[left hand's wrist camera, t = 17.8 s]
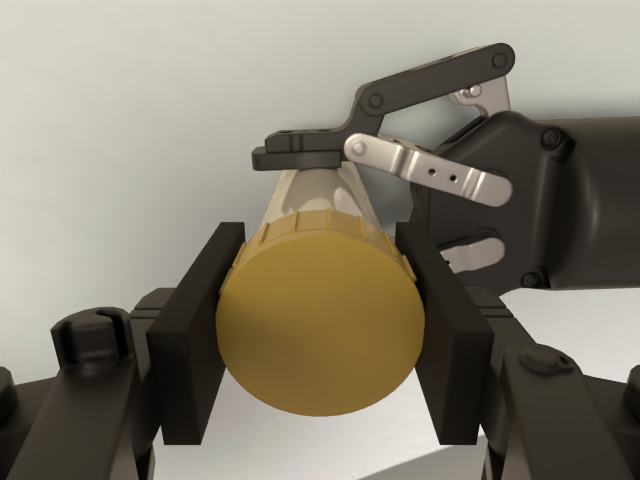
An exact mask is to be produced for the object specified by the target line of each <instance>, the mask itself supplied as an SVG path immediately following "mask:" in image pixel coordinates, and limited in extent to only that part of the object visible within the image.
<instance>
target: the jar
mask: <svg viewBox="0 0 640 480" xmlns="http://www.w3.org/2000/svg"><path fill="white" fill-rule="evenodd" d="M327 208H331V211H339V212H343V213H347V214H351V215H353V216H356V217H358V216H359V215H361V216H363V220H365V221H367V222H369V223H370V224H372V225H374V226H375V227H377V228H378V229H379V230H381V231H382V229H381V227H380V224H379V222H378V219H377V217H376V214H375V212H374V209H373V207H372V204H371V202H370V200H369V197H368V195H367V192H366V190H365V187H364V185H363V182H362V180H361V178H360V175H359V173H358V170H357V168H356V166H355V164H354V162H351V161H347V162H342V168H325V169H322V168H320V169H298V170H283V171H282V173H281V175H280V178H279V180H278V183H277V185H276V188H275V190H274V193H273V195H272V198H271V200H270V203H269V205H268V207H267V210H266V212H265V215H264V217H263V220H262V222H261V225H260V227H259V230H258V232H259V231H260V230H261V229H263V226H264V224H265V223H266V222H268V223H269V224H270V223H272V222H274V221H275V220H277V219H279V218H282V217H284V216H287V215H290V214H293V213H294V210H298V212H301V211H309V210H327ZM382 232H383V231H382Z"/></svg>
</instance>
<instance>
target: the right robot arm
mask: <svg viewBox="0 0 640 480" xmlns="http://www.w3.org/2000/svg"><path fill="white" fill-rule="evenodd" d="M514 63H515V53H514V51H513V49H512V48H511V47H510V46H509V45H508V44H505V43H497V44H492V45H487V46H482V47H477V48H473V49H470V50H467V51H464V52H461V53H458V54H455V55H452V56H449V57H446V58H443V59H440V60H437V61H434V62H431V63H428V64H425V65H422V66H419V67H416V68H412V69H409V70H406V71H403V72H400V73H397V74H394V75H391V76H388V77H385V78H382V79H379V80H376V81H373V82H370V83H367V84H364V85H362V86H361V87H360V88H359V89H358V90H357V92H356V95H355V101H354V104H353V107H352V110H351V113H350V116H349V118H348V120H347V121H346V123H345V124H343V125H342V126H340V127H338V128H334V129H309V130H283V131H278V132H276V133H273V134H271V135H269V136H268V137H267V138H266V139H265V146H262V147H257V148H255V149H254V150H253V151H252V153H251V154H252V164H253V170H256V171H271V170H298V169H320V168H322V169H325V168H342V162H347V161H351V162H354V163H357V164H360V165H364V166H367V167H370V168H374V169H377V170H380V171H384V172H387V173H391V174H393V175H395V176H397V177H399V178H402V179H404V180H408V181H410V190H411V194H412V199H413V203H414V207H413V210H412V213H411V216H410V219H409V222H419V223H420V224H421V226H422V227H423V228H424V230H425V231H426V233H427V234H428V236H429V237H430V239H431V240H432V242H433V243H434V245H435V246H436V247H437V249H438V250H439V252H440V253H441V255H442V256H443V258H444V259H445V261H446V262H447V264H448V265H449V266H450V268H451V269H452V271H453V272H454V274H455V275H456V277H457V278H458V280H459V281H460V282H461V284H462V285H463V287H484V288H486V289H487V290H489V291H491V292H492V293H494V294H496V295H497V296H498V297H499V296H501V295H503V294H505V293H507V292H509V291H512V290H515V289H519V288H532V289H541V290H554V291H555V290H586V289H616V288H640V116H637V117H612V118H586V119H560V120H531V119H529V118H527V117H525V116H523V115H522V114H520V113H518V112H514V111H511V108H510V102H509V95H508V88H507V82H506V74H508V73H509V72H510V71H511V69H512V68H513V66H514ZM447 94H448V95H449V97H450V99H451V101H452V102H454V103H455V104H459V105H464V106H472V105H474V106H476V107H477V108H478V109H479V111H480V114H481V115H480V116H479V117H477V118H476V119H474V120H473V121H472V122H470V123H469V124H468V125H466V126H465V127H464V128H462V129H461V130H460V131H458V132H457V133H455V134H454V135H453V136H451V137H450V138H449V139H447V140H446V141H445V142H443V143H442V144H440V145H439V146H438V147H436V148H435V149H432V148H428V147H425V146H422V145H419V144H415V143H412V142H409V141H405V140H402V139H398V138H393V137H389V136H386V135H383V134H380V133H378V132H379V129H380V126H381V124H382V121H383V118H384V115H385V114H388V113H391V112H394V111H397V110H400V109H404V108H407V107H410V106H413V105H416V104H419V103H422V102H425V101H428V100H432V99H435V98H438V97H441V96H444V95H447ZM390 238H391V240H392V242H393V243H394V245H395V236H392V237H390Z"/></svg>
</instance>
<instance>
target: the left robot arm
mask: <svg viewBox="0 0 640 480" xmlns="http://www.w3.org/2000/svg"><path fill="white" fill-rule="evenodd" d="M244 242H245V227H244V222H221V223H220V225H219V226H218V228H217V229H216V231H215V232H214V234H213V235H212V236H211V238H210V239H209V241H208V242H207V244H206V245H205V247H204V248H203V250H202V251H201V253H200V254H199V255H198V257H197V258H196V260H195V261H194V263H193V264H192V266H191V267H190V269H189V270H188V272H187V273H186V274H185V276H184V277H183V279H182V280H181V282H180V283H179V285H178V286H177V288H157V289H156V290H154V291H152V292H151V293H149V294H147V295H146V296H144V297H143V298H142V299H141V300H140V302H139V303H138V304H137V305H136V306H135V308H134V310H132V311H131V313H130V314H129V313H127V312H126V311H125V310H123V309H120V308H115V307H97V308H92V309H87V310H83V311H80V312H77V313H75V314H72V315H69V316H67V317H66V318H64V319H62V320H61V321H59V322H57V323H56V324H55V325H54V326H53V328H52V329H51V330H50V331H51V335H52V339H53V343H54V346H55V350H56V354H57V358H58V362H59V366H60V370H59V372H58V374H57V376H56V377H53V378H49V379H44V380H39V381H34V382H29V383H24V384H18V385H14V382H13V378H12V375H11V372H10V371H9V370H7V369H6V368H5V367H0V480H153V476H154V468H155V455H154V449H153V444H152V443H153V440H154V438H155V436H156V434H157V432H158V429H159V427H160V425H161V429H162V435H163V441H164V445H201V442H202V439H203V436H204V433H205V430H206V426H207V423H208V420H209V417H210V414H211V411H212V408H213V405H214V402H215V399H216V396H217V393H218V390H219V386H220V383H221V380H222V377H223V374H224V371H225V368H226V365H225V364H224V362H223V360H222V357H221V355H220V352H219V349H218V341H217V331H216V320H215V313H216V309H217V304H218V301H219V298H220V295H218V293H219V290H220V288H221V286H222V284H223V282H224V280H225V278H226V276H227V273H228V271H229V269H230V268H233V266H232V265H233V263H234V261H235V259H236V257H237V255H238V252H239V250H240V248H241V246H242V244H243V243H244ZM245 243H246V242H245ZM395 246H396V247H397V249H398V250H399V252H400V254H401V255H402V256H403V255H405V256H406V258H407V260H408V262H409V265H410V267H411V269H412V271H413V273H414V275H415V277H416V279H417V281H415V282H414V283H415V285H416V287H417V289H418V291H419V294H420V297H421V299H422V302H423V306H424V311H425V325H424V336H423V345H422V351H421V354H420V356H419V358H418V361H417V363H416V364H415V366H414V367H415V370H416V373H417V376H418V379H419V382H420V385H421V388H422V391H423V394H424V397H425V400H426V404H427V407H428V410H429V413H430V416H431V419H432V422H433V425H434V428H435V431H436V434H437V437H438V440H439V443H440V445H476V443H477V437H478V432H479V426H480V424H481V426H482V428H483V431H484V433H485V435H486V437H487V439H488V444H487V449H486V455H485V460H484V466H483V471H482V477H481V480H640V365H637V366H635V367H634V368H633V369H631V371H630V374H629V377H628V380H627V383H622V382H616V381H611V380H606V379H601V378H596V377H591V376H588V375H584V374H583V373H582V371H581V369H580V367H579V366H578V365H577V364H576V362H575V361H574V360H573V359H572V358H570V357H569V356H567V355H566V354H565V353H563V352H561V351H559V350H557V349H554V348H552V347H550V346H546V345H542V344H538V343H536V342H535V341H534V340H533V338H532V337H531V336H530V335H529V334H528V332H527V331H526V330H525V329H524V327H523V326H522V325H521V324H520V323H519V321H518V320H517V319H516V318H514V315H513V314H512V313H511V311H510V310H509V309H507V308H506V305H505V304H504V303H503V302H502V300H501V299H500V298H499V297H498V296H497V295H496V294H494V293H492V292H491V291H489V290H487V289H486V288H484V287H463V285H462V284H461V282H460V281H459V280H458V278H457V277H456V275H455V274H454V272H453V271H452V269H451V268H450V266H449V265H448V264H447V262H446V261H445V259H444V258H443V256H442V255H441V253H440V252H439V250H438V249H437V247H436V246H435V245H434V243H433V242H432V240H431V239H430V237H429V236H428V234H427V233H426V231H425V230H424V228H423V227H422V226H421V224H420V223H419V222H396V233H395Z"/></svg>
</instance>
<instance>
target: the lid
mask: <svg viewBox="0 0 640 480" xmlns="http://www.w3.org/2000/svg"><path fill="white" fill-rule="evenodd" d="M232 266H233V268H230V269H229V271H228V273H227V276H226V278H225V280H224V282H223V284H222V286H221V288H220V290H219V293H218V295H220V298H219V301H218V304H217V309H216V313H215V320H216V331H217V341H218V349H219V352H220V355H221V357H222V360H223V362H224V364H225V365H226V367H227V369H228V370H229V372H230V373H231V375H232V376H233V377H234V378H235V380H236V381H237V382H238V383H239V384H240V385H241V386H242V387H243V388H244V389H245V390H246V391H248V392H249V393H250V394H252V395H253V396H254V397H256V398H257V399H259V400H261V401H262V402H264V403H266V404H268V405H270V406H272V407H275V408H277V409H280V410H283V411H286V412H289V413H294V414H298V415H305V416H336V415H342V414H347V413H352V412H355V411H358V410H361V409H364V408H366V407H368V406H370V405H373V404H375V403H376V402H378V401H380V400H382V399H383V398H385V397H386V396H388V395H389V394H390V393H392V392H393V391H394V390H395V389H396V388H397V387H398V386H399V385H400V384H401V383H403V382H404V380H405V379H406V378H407V376H408V375H409V374H410V373H411V371H412V370H413V368H414V366H415V364H416V363H417V361H418V358H419V356H420V354H421V351H422V345H423V336H424V325H425V311H424V306H423V302H422V299H421V297H420V294H419V291H418V289H417V287H416V285H415V283H414V282H415V281H417V279H416V277H415V275H414V273H413V271H412V269H411V267H410V265H409V262H408V260H407V258H406V256H405V255H403V256H402V255H401V254H400V252H399V250H398V249H397V247H396V246H395V245H394V243H393V242H392V240H391V238H390V236H389V234H388V233H387V232H385V233H383V232H382V231H381V230H379V229H378V228H377V227H375V226H374V225H372V224H370V223H369V222H367V221H365V220H363V216H361V215H359V216H358V217H356V216H353V215H351V214H347V213H343V212H339V211H331V208H327V210H309V211H301V212H298V210H294V213H293V214H290V215H287V216H284V217H282V218H279V219H277V220H275V221H274V222H272V223H270V224H269V223H268V222H266V223H265V224H264V226H263V229H261V230H260V231H259V232H257V233H256V234H255V235H254V236H253V237H252V238H251V239H250V240H249V241H248V243H247V244H246V243H245V242H244V243H243V244H242V246H241V248H240V250H239V252H238V255H237V257H236V259H235V261H234V263H233V265H232Z"/></svg>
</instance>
